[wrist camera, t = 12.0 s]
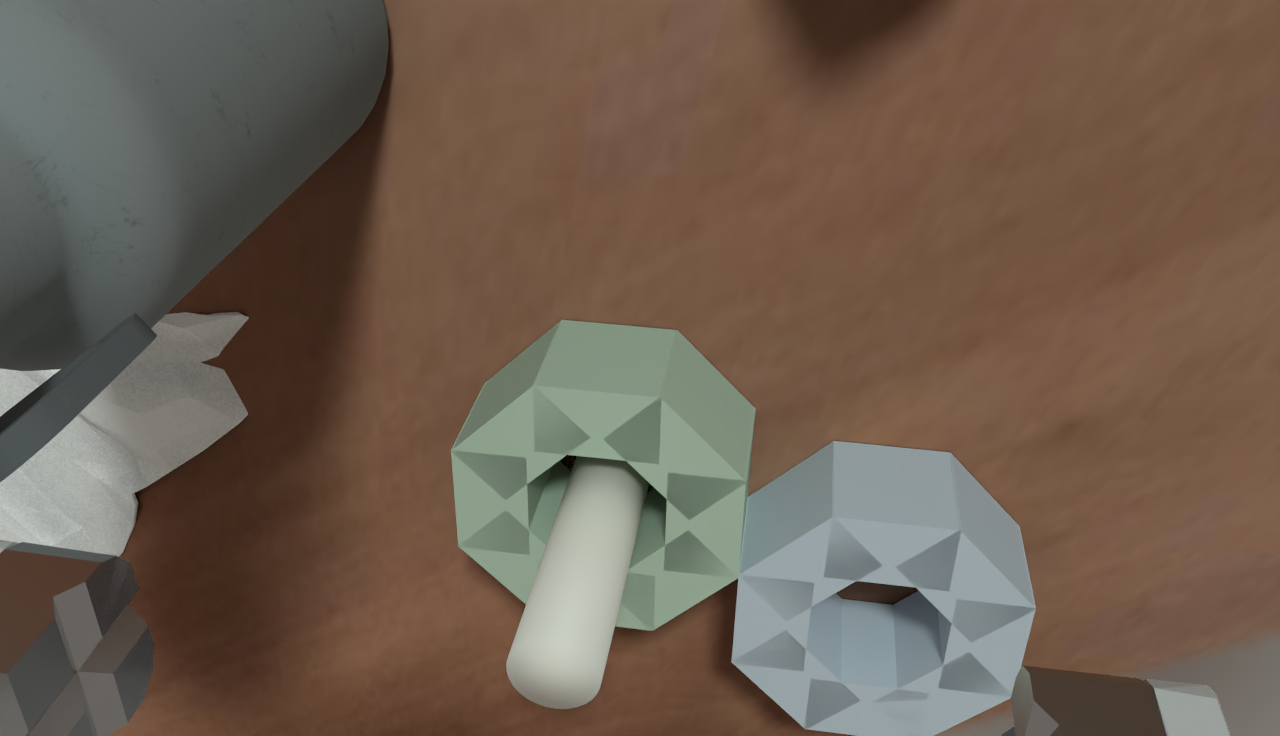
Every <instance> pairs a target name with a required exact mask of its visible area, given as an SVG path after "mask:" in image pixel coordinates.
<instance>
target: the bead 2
mask: <svg viewBox="0 0 1280 736" xmlns="http://www.w3.org/2000/svg"><path fill="white" fill-rule="evenodd" d="M856 581H862V582H871V583H880V584H889V585H897V586H906V587H915V588H917V589H918V590H919V591H917V592H915V593H913V594H912V595H910V596H908V597H906V598H904V599H903V600H901V601H899V602H897V603H895V604H894V605H891V604H882V603H873V602H865V601H856V600H847V599H842V598H841V597H840V596H839V595H837V594H836V593H837V592H838V591H840V590H842V589H844V588H845V587H847V586H849V585H850V584H852V583H854V582H856ZM1035 610H1036V606H1035V601H1034V596H1033V591H1032V586H1031V581H1030V576H1029V571H1028V566H1027V561H1026V556H1025V551H1024V546H1023V541H1022V536H1021V531H1020V526H1019V525H1018V524H1017V523H1016V522H1015V521H1014V520H1013V519H1012V518H1011V517H1010V516H1009V515H1008V513H1007V512H1006V511H1005V510H1004V509H1003V508H1002V507H1001V506H1000V505H999V504H998V503H997V502H996V501H995V500H994V499H993V497H992V496H991V495H990V494H989V493H988V492H987V491H986V490H985V489H984V488H983V487H982V486H981V485H980V484H979V483H978V481H977V480H976V479H975V478H974V477H973V476H972V475H971V474H970V473H969V472H968V471H967V470H966V469H965V468H964V467H963V466H962V464H961V463H960V462H959V461H958V460H957V459H956V458H955V457H954V456H953V455H952V454H951V453H950V452H940V451H930V450H920V449H910V448H900V447H890V446H880V445H870V444H860V443H849V442H839V441H833V442H832V443H830V444H829V445H827V446H825V447H824V448H822V449H821V450H819V451H818V452H816V453H815V454H813V455H812V456H810V457H809V458H807V459H806V460H804V461H802V462H801V463H799V464H798V465H796V466H795V467H793V468H792V469H790V470H789V471H787V472H786V473H784V474H783V475H781V476H779V477H778V478H776V479H775V480H773V481H772V482H770V483H769V484H767V485H766V486H764V487H763V488H761V489H760V490H758V491H756V492H755V493H753V494H752V495H750V496H749V497H748V500H747V508H746V517H745V525H744V534H743V542H742V550H741V559H740V567H739V575H738V589H737V601H736V613H735V625H734V638H733V649H732V657H731V663H733V664H734V665H735V666H736V667H737V668H738V669H739V670H741V671H742V672H743V673H744V674H745V675H746V676H747V677H748V678H749V679H750V680H752V681H753V682H754V683H755V684H756V685H757V686H758V687H759V688H760V689H761V690H763V691H764V692H765V693H766V694H767V695H768V696H769V697H770V698H771V699H772V700H774V701H775V702H776V703H777V704H778V705H779V706H780V707H781V708H782V709H784V710H785V711H786V712H787V713H788V714H789V715H790V716H791V717H792V718H793V719H795V720H796V721H797V722H798V723H799V724H800V725H801V726H802V727H803V728H804V729H809V730H816V731H824V732H832V733H840V734H848V735H855V736H934V735H936V734H938V733H940V732H942V731H944V730H946V729H948V728H950V727H952V726H954V725H956V724H959V723H961V722H963V721H965V720H967V719H969V718H971V717H973V716H975V715H977V714H979V713H981V712H983V711H985V710H987V709H989V708H991V707H993V706H995V705H997V704H1000V703H1002V702H1004V701H1006V700H1008V699H1010V698H1011V695H1012V691H1013V687H1014V683H1015V680H1016V676H1017V674H1018V672H1019V671H1020V668H1021V664H1022V660H1023V656H1024V652H1025V649H1026V645H1027V641H1028V637H1029V633H1030V629H1031V625H1032V621H1033V617H1034V613H1035Z"/></svg>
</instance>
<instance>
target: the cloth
mask: <svg viewBox="0 0 1280 736" xmlns="http://www.w3.org/2000/svg"><path fill="white" fill-rule="evenodd" d="M248 319H249V317H248V316H245V315H243V314H241V313H239V312H227V313H214V314H209V315H204V314H196V313H187V312H184V313H174V314H166V315H165V316H164V317H163V318H162V319H161V320H160V321H159V322H157V323H156V324H155V325H154V326H153V327H152V328H151V329H152V330H153V331H154V332H155V333H156V334H157V337H156V338H155V339H154V341H153V342H152V343H151V344H150V345H149V346H148V347H147V348H146V349H145V350H144V351H143V352H142V353H141V354H140V355H139V356H137V357H136V358H135V359H134V360H133V361H132V362H131V363H130V364H129V365H128V366H127V367H126V368H125V369H124V370H123V371H122V372H121V373H120V374H119V375H118V376H117V377H116V378H115V379H114V380H113V381H112V382H111V383H110V384H109V385H108V386H107V387H106V388H105V389H104V390H103V391H102V392H101V393H100V394H99V395H98V396H97V397H96V398H95V399H94V400H93V401H92V402H91V403H89V404H88V405H87V406H86V407H85V408H84V409H83V410H82V411H81V412H80V413H79V414H78V415H77V416H76V417H75V418H74V419H73V420H72V421H71V422H70V423H69V424H68V425H67V426H66V427H65V428H64V429H63V430H62V431H61V432H59V433H58V434H57V435H56V436H55V437H54V438H53V439H52V440H51V441H49V442H48V443H47V444H46V445H45V446H44V447H43V448H42V449H40V450H39V451H38V452H37V453H36V454H35V455H33V456H32V457H31V458H30V459H29V460H28V461H26V462H25V463H24V464H23V465H22V466H20V467H19V468H18V469H17V470H15V471H14V472H13V473H12V474H11V475H9V476H8V477H7V478H6V479H4V480H3V481H2V482H0V540H4V541H11V542H17V543H21V542H26V543H33V544H39V545H46V546H53V547H60V548H66V549H73V550H80V551H87V552H94V553H100V554H107V555H114V556H118V557H119V556H120V555H121V554H122V553H123V551H124V549H125V546H126V544H127V542H128V540H129V537H130V535H131V533H132V530H133V528H134V526H135V523H136V515H137V507H138V501H137V499H136V496H135V494H134V493H135V492H137V491H139V490H141V489H144V488H146V487H147V486H149V485H150V484H152V483H154V482H155V481H157V480H158V479H160V478H161V477H163V476H165V475H166V474H168V473H169V472H171V471H172V470H174V469H176V468H177V467H179V466H180V465H182V464H183V463H185V462H187V461H188V460H190V459H191V458H193V457H194V456H196V455H198V454H199V453H201V452H202V451H204V450H205V449H206V448H208V447H209V446H210V445H211V444H213V443H214V442H215V441H217V440H218V439H219V438H221V437H222V436H223V435H225V434H226V433H227V432H229V431H230V430H231V429H233V428H234V427H235V426H237V425H238V424H239V423H240V422H241V421H242V420H243V419H244V418H245V417H246V416H247V415H248V412H247V410H246V408H245V406H244V405H243V403H242V401H241V399H240V397H239V395H238V394H237V392H236V390H235V388H234V386H233V385H232V383H231V381H230V379H229V377H228V376H227V374H226V372H225V370H224V369H220V368H217V367H214V366H210V365H207V364H204V363H201V362H203V361H206V360H209V359H212V358H215V357H217V356H219V354H220V353H221V351H222V350H223V348H224V347H225V346H226V345H227V344H228V342H229V341H230V340H231V339H232V338H233V336H234V335H235V334H236V333H237V332H238V330H239V329H240V328H241V327H242V326H243V324H244V323H245V322H246V321H247V320H248ZM59 370H61V369H55V370H39V371H17V370H8V369H0V417H1V416H2V415H3V414H4V413H5V412H7V411H8V410H9V409H10V408H12V407H13V406H14V405H16V404H17V403H18V402H19V401H21V400H22V399H23V398H25V397H26V396H27V395H28V394H30V393H31V392H32V391H34V390H35V389H36V388H37V387H39V386H40V385H41V384H43V383H44V382H45V381H47V380H48V379H49V378H50V377H52V376H53V375H54V374H56V373H57V372H58V371H59Z"/></svg>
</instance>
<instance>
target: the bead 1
mask: <svg viewBox="0 0 1280 736" xmlns="http://www.w3.org/2000/svg"><path fill="white" fill-rule="evenodd" d="M755 411H756V409H755V408H754V407H753V406H752V405H751V404H750V403H749V402H748V401H747V400H746V399H745V398H744V397H743V396H742V395H741V394H740V393H739V391H738V390H737V389H736V388H735V387H734V386H733V385H732V384H731V383H730V382H729V381H728V380H727V379H726V378H725V377H724V376H723V375H722V374H721V373H720V372H719V371H718V370H717V369H716V368H715V367H714V366H713V365H712V364H711V363H710V362H709V361H708V360H707V359H706V358H705V357H704V356H703V355H702V354H701V353H700V352H699V351H698V350H697V349H696V348H695V347H694V346H693V345H692V344H691V343H690V342H689V341H688V340H687V339H686V338H685V337H684V336H683V335H682V334H681V333H680V332H679V331H678V330H670V329H659V328H648V327H637V326H626V325H615V324H603V323H592V322H581V321H570V320H563V319H562V320H561V321H560V322H559V323H557V324H556V325H555V326H554V327H552V328H551V329H550V330H549V331H548V332H546V333H545V334H544V335H543V336H541V337H540V338H539V339H538V340H537V341H535V342H534V343H533V344H532V345H530V346H529V347H528V348H527V349H526V350H524V351H523V352H522V353H521V354H519V355H518V356H517V357H516V358H515V359H513V360H512V361H511V362H510V363H508V364H507V365H506V366H505V367H504V368H502V369H501V370H500V371H499V372H497V373H496V374H495V375H494V376H493V377H491V378H490V379H489V380H488V381H486V382H485V384H484V386H483V388H482V390H481V392H480V393H479V395H478V397H477V399H476V401H475V403H474V405H473V407H472V409H471V411H470V413H469V415H468V417H467V419H466V421H465V423H464V425H463V427H462V429H461V431H460V433H459V435H458V437H457V439H456V441H455V443H454V445H453V447H452V449H451V456H452V469H453V482H454V495H455V508H456V522H457V535H458V547H460V548H461V549H462V550H463V551H465V552H466V553H467V554H468V555H469V556H470V557H471V558H473V559H474V560H475V561H476V562H477V563H478V564H480V565H481V566H482V567H483V568H484V569H485V570H486V571H488V572H489V573H490V574H491V575H492V576H493V577H495V578H496V579H497V580H498V581H499V582H500V583H502V584H503V585H504V586H505V587H506V588H507V589H508V590H510V591H511V592H512V593H513V594H514V595H515V596H517V597H518V598H519V599H520V600H521V601H522V602H523V603H525V604H526V603H527V600H528V597H529V594H530V592H531V589H532V586H533V583H534V580H535V577H536V574H537V571H538V568H539V565H540V562H541V559H542V556H543V553H544V550H545V548H546V545H547V542H548V539H549V536H550V533H551V530H552V527H553V524H554V521H555V518H556V515H557V512H558V509H559V506H560V503H561V501H562V498H563V495H564V492H565V489H566V486H567V483H568V480H569V477H570V474H571V471H570V470H569V469H568V468H567V467H566V466H565V465H564V464H563V463H562V462H561V461H560V460H561V459H562V458H564V457H565V456H566V455H574V456H583V457H593V458H603V459H612V460H622V461H627V462H628V463H629V464H630V465H631V466H632V467H633V468H634V469H635V470H636V471H637V472H638V473H639V474H640V475H641V476H643V477H644V478H645V479H646V480H647V481H648V482H649V483H650V484H651V485H652V486H653V487H654V489H652V490H651V491H649V492H648V493H647V495H646V499H645V504H644V508H643V512H642V516H641V520H640V524H639V528H638V533H637V537H636V541H635V545H634V549H633V553H632V557H631V562H630V566H629V570H628V574H627V578H626V582H625V587H624V591H623V595H622V599H621V603H620V607H619V611H618V616H617V620H616V624H615V626H616V627H625V628H633V629H641V630H650V631H653V630H655V629H656V628H658V627H660V626H661V625H663V624H665V623H666V622H668V621H669V620H671V619H673V618H674V617H676V616H678V615H679V614H681V613H682V612H684V611H686V610H687V609H689V608H691V607H692V606H694V605H695V604H697V603H699V602H700V601H702V600H704V599H705V598H707V597H708V596H710V595H712V594H713V593H715V592H717V591H718V590H720V589H721V588H723V587H725V586H726V585H728V584H730V583H731V582H733V581H734V580H736V579H738V575H739V567H740V559H741V550H742V542H743V534H744V525H745V517H746V508H747V500H748V489H749V477H750V465H751V453H752V441H753V429H754V419H755Z"/></svg>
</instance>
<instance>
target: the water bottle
mask: <svg viewBox="0 0 1280 736" xmlns="http://www.w3.org/2000/svg"><path fill="white" fill-rule="evenodd" d="M388 51H389V38H388V23H387V14H386V10H385V6H384V2H383V0H0V369H8V370H17V371H39V370H55V369H61V370H59V371H58V372H57V373H56V374H54V375H53V376H52V377H50V378H49V379H48V380H47V381H45V382H44V383H43V384H41V385H40V386H39V387H37V388H36V389H35V390H34V391H32V392H31V393H30V394H28V395H27V396H26V397H25V398H23V399H22V400H21V401H19V402H18V403H17V404H16V405H14V406H13V407H12V408H10V409H9V410H8V411H7V412H5V413H4V414H3V415H2V416H1V417H0V482H2V481H3V480H4V479H6V478H7V477H8V476H9V475H11V474H12V473H13V472H14V471H15V470H17V469H18V468H19V467H20V466H22V465H23V464H24V463H25V462H26V461H28V460H29V459H30V458H31V457H32V456H33V455H35V454H36V453H37V452H38V451H39V450H40V449H42V448H43V447H44V446H45V445H46V444H47V443H48V442H49V441H51V440H52V439H53V438H54V437H55V436H56V435H57V434H58V433H59V432H61V431H62V430H63V429H64V428H65V427H66V426H67V425H68V424H69V423H70V422H71V421H72V420H73V419H74V418H75V417H76V416H77V415H78V414H79V413H80V412H81V411H82V410H83V409H84V408H85V407H86V406H87V405H88V404H89V403H91V402H92V401H93V400H94V399H95V398H96V397H97V396H98V395H99V394H100V393H101V392H102V391H103V390H104V389H105V388H106V387H107V386H108V385H109V384H110V383H111V382H112V381H113V380H114V379H115V378H116V377H117V376H118V375H119V374H120V373H121V372H122V371H123V370H124V369H125V368H126V367H127V366H128V365H129V364H130V363H131V362H132V361H133V360H134V359H135V358H136V357H137V356H139V355H140V354H141V353H142V352H143V351H144V350H145V349H146V348H147V347H148V346H149V345H150V344H151V343H152V342H153V341H154V339H155V338H156V337H157V334H156V333H155V332H154V331H153V330H152V329H151V328H152V327H153V326H154V325H155V324H156V323H157V322H159V321H160V320H161V319H162V318H163V317H164V316H165V315H166V314H167V313H168V312H169V311H170V310H171V309H172V308H173V307H174V306H175V305H176V304H177V303H178V302H179V301H180V300H182V299H183V298H184V297H185V296H186V295H187V294H188V293H189V292H190V291H191V290H192V289H193V288H194V287H195V286H196V285H197V284H198V283H199V282H200V281H201V280H202V279H203V278H204V277H206V276H207V275H208V274H209V273H210V272H211V271H212V270H213V269H214V268H215V267H216V266H217V265H218V264H219V263H220V262H221V261H222V260H223V259H224V258H225V257H226V256H227V255H228V254H230V253H231V252H232V251H233V250H234V249H235V248H236V247H237V246H238V245H239V244H240V243H241V242H242V241H243V240H244V239H245V238H246V237H247V236H248V235H249V234H250V233H251V232H252V231H254V230H255V229H256V228H257V227H258V226H259V225H260V224H261V223H262V222H263V221H264V220H265V219H266V218H267V217H268V216H269V215H270V214H271V213H272V212H273V211H274V210H275V209H276V208H278V207H279V206H280V205H281V204H282V203H283V202H284V201H285V200H286V199H287V198H288V197H289V196H290V195H291V194H292V193H293V192H294V191H295V190H296V189H297V188H298V187H299V186H301V185H302V184H303V183H304V182H305V181H306V180H307V179H308V178H309V177H310V176H311V175H312V174H313V173H314V172H315V171H316V170H317V169H318V168H319V167H320V166H321V165H322V164H323V163H325V162H326V161H327V160H328V159H329V158H330V157H331V156H332V155H333V154H334V153H335V152H336V151H337V150H338V149H339V148H340V147H341V146H342V145H343V144H344V143H345V142H346V141H347V140H348V139H349V138H350V137H351V136H352V135H353V134H354V133H355V132H356V131H357V130H358V129H360V128H361V126H362V125H363V123H364V122H365V120H366V118H367V117H368V115H369V114H370V112H371V110H372V109H373V107H374V106H375V104H376V101H377V98H378V95H379V92H380V89H381V87H382V84H383V81H384V78H385V75H386V67H387V59H388Z"/></svg>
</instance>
